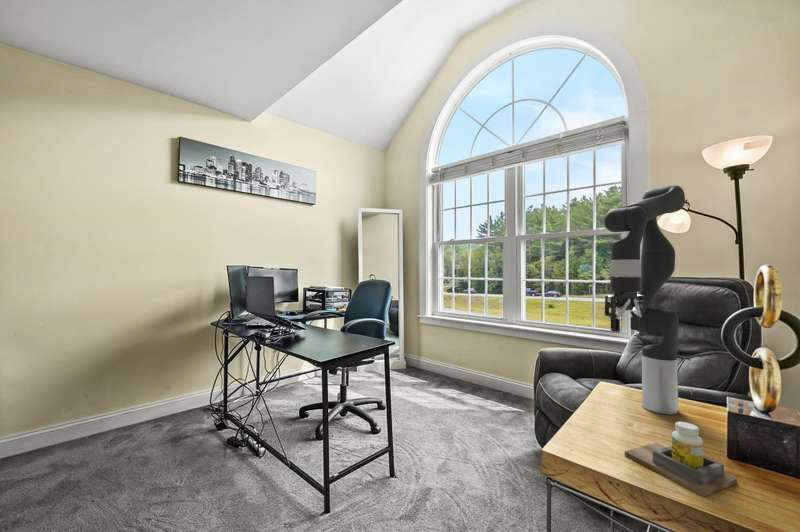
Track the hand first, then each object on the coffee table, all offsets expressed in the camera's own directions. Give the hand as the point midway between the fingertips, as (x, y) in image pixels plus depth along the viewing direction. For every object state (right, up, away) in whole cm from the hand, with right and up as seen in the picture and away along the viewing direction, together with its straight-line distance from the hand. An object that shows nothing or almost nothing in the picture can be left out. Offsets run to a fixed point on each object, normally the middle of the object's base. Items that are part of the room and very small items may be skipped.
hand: (625, 330), depth 97 cm
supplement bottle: (-1, -27, -22) cm, 35 cm away
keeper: (-2, -28, -21) cm, 35 cm away
